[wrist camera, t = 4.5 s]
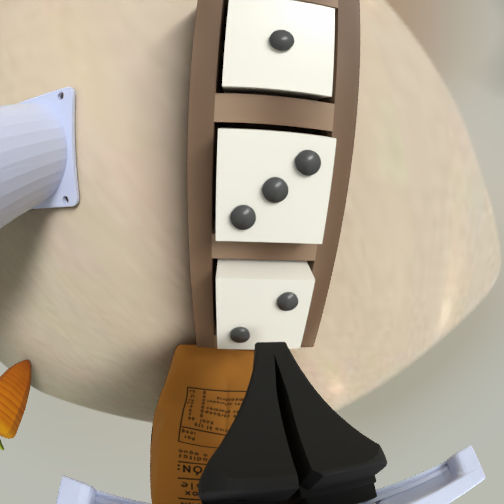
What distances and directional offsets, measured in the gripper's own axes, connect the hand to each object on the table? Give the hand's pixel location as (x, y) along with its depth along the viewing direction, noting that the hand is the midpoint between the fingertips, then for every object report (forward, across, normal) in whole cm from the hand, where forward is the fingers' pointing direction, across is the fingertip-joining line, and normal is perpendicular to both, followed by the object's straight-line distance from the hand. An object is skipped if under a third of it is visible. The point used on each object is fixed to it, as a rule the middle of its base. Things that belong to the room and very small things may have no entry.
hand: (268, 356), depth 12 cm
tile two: (+6, 0, 0) cm, 6 cm away
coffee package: (+8, +3, +12) cm, 15 cm away
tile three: (+6, 0, -7) cm, 9 cm away
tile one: (+7, 0, -14) cm, 16 cm away
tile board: (+7, 0, -7) cm, 10 cm away
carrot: (+8, +27, +14) cm, 31 cm away
